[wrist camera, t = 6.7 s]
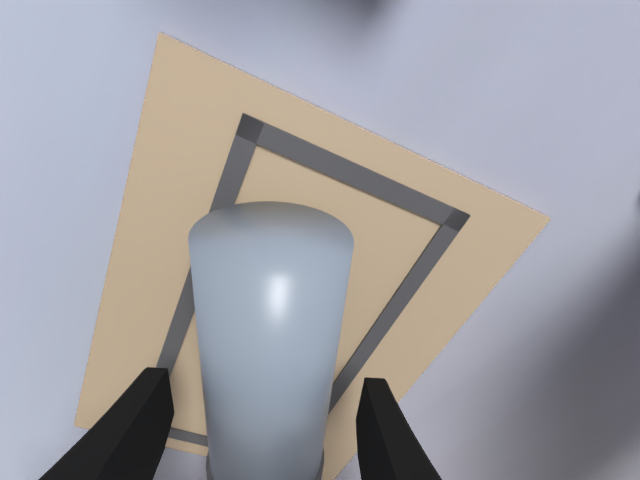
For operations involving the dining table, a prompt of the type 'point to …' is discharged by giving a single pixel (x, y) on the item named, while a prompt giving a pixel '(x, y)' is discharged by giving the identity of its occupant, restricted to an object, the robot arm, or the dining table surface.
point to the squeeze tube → (268, 334)
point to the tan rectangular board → (300, 188)
